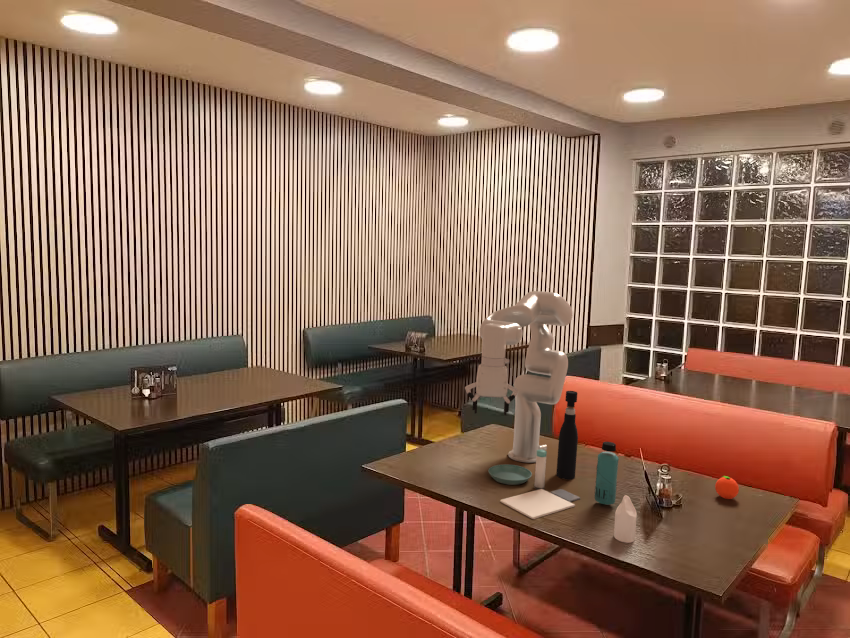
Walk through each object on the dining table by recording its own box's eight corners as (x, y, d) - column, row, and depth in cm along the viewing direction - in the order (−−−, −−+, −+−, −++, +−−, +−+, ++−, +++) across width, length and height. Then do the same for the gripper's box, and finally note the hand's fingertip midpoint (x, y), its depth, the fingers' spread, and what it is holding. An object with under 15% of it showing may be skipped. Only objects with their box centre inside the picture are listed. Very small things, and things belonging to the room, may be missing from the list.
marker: (539, 485, 202) (541, 449, 200) (546, 488, 199) (548, 451, 198) (532, 487, 200) (534, 450, 199) (539, 490, 197) (541, 453, 196)
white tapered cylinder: (634, 502, 161) (613, 496, 165) (631, 545, 163) (610, 538, 166) (641, 495, 166) (620, 489, 169) (637, 536, 168) (617, 530, 171)
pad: (541, 490, 197) (541, 488, 197) (574, 506, 186) (574, 504, 186) (500, 501, 187) (500, 499, 187) (532, 519, 176) (532, 517, 176)
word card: (561, 490, 198) (561, 488, 198) (580, 498, 192) (580, 497, 192) (550, 493, 196) (550, 491, 196) (569, 502, 189) (569, 500, 189)
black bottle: (554, 477, 210) (560, 392, 206) (557, 471, 215) (563, 388, 212) (573, 480, 207) (579, 395, 204) (576, 474, 213) (582, 391, 210)
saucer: (505, 468, 217) (506, 461, 217) (540, 480, 207) (540, 473, 207) (479, 477, 207) (479, 470, 207) (513, 491, 197) (514, 483, 196)
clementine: (709, 491, 203) (711, 471, 202) (730, 493, 202) (732, 472, 202) (719, 501, 195) (721, 480, 194) (741, 503, 194) (743, 481, 194)
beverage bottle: (615, 503, 190) (620, 441, 188) (614, 511, 184) (620, 447, 182) (594, 499, 192) (599, 438, 190) (592, 507, 186) (597, 444, 184)
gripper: (519, 361, 200) (516, 411, 202) (466, 358, 201) (463, 408, 203) (520, 365, 192) (517, 418, 194) (466, 362, 193) (463, 414, 195)
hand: (490, 413), depth 198 cm, fingers open, 9 cm apart
